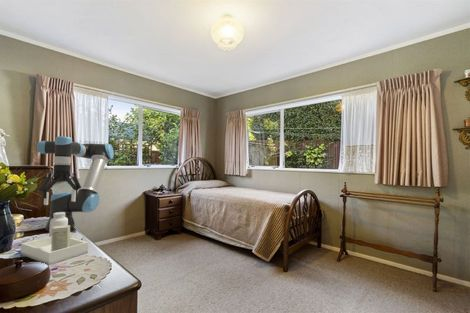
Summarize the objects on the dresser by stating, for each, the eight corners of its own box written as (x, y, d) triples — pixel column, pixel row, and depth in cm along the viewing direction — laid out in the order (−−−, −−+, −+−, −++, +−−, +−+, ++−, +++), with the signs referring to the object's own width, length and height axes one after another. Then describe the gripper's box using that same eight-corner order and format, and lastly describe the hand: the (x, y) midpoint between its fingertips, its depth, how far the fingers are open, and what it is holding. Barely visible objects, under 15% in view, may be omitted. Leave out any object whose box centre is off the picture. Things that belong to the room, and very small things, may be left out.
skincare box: (69, 250, 111) (71, 224, 111) (67, 254, 107) (68, 227, 107) (53, 252, 108) (55, 225, 109) (50, 255, 104) (51, 228, 105)
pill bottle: (51, 244, 122) (53, 215, 123) (46, 240, 127) (48, 212, 127) (69, 240, 128) (70, 212, 129) (64, 237, 133) (65, 210, 134)
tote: (59, 244, 122) (59, 234, 122) (87, 252, 111) (88, 242, 111) (20, 254, 107) (21, 243, 108) (48, 265, 97) (49, 253, 97)
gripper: (81, 164, 142) (79, 199, 141) (31, 163, 120) (29, 205, 119) (89, 164, 139) (87, 200, 138) (39, 164, 116) (36, 206, 116)
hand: (60, 202), depth 128 cm, fingers open, 13 cm apart
